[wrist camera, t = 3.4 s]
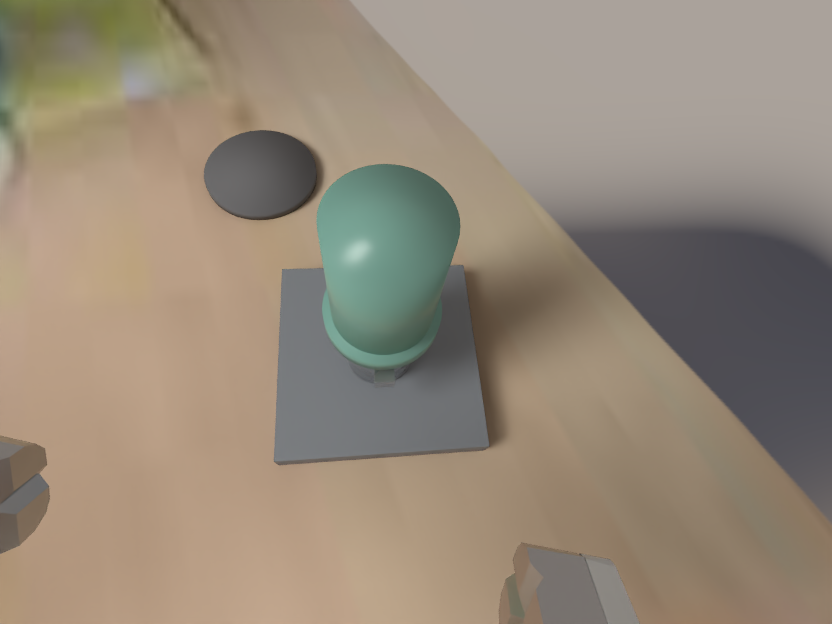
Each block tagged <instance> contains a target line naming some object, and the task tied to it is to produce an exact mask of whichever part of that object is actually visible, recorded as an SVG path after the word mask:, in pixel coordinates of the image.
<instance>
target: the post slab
mask: <svg viewBox="0 0 832 624" xmlns="http://www.w3.org/2000/svg"><path fill="white" fill-rule="evenodd" d="M326 288H327V286H326V280H325V274H324V268H317V269H282V285H281V308H280V332H279V355H278V379H277V402H276V426H275V449H274V462H275V463H276V464H278V465H287V464H301V463H314V462H328V461H342V460H356V459H370V458H383V457H397V456H411V455H425V454H439V453H452V452H466V451H480V450H485V449H486V448H488V447H489V440H488V433H487V426H486V419H485V412H484V405H483V398H482V391H481V384H480V377H479V370H478V363H477V356H476V350H475V343H474V336H473V329H472V322H471V315H470V308H469V301H468V294H467V287H466V280H465V273H464V266H463V265H452V266H450V268H449V271H448V274H447V277H446V280H445V283H444V286H443V289H442V293H441V296H440V297H441V303H442V318H441V322H440V326H439V329H438V332H437V334H436V337H435V339H434V341H433V343H432V344H431V346H430V347H429V349H428V350H427V351H426V352H425V353H424V354H423V355H422V356H421V357H419V358H418V359H417V360H415V361H414V362H412V363H410V365H409V367H408V369H407V370H406V372H405V373H404V374H403V375H402V376H401V377H399V378H398V379H396V380H395V384H394V387H386V388H375V387H374V384H373V383H369V382H366V381H364V380H362V379H360V378H359V377H358V376H356V374H355V373H354V372H353V371H352V370H351V368H350V366H349V364H348V361H347V359H346V358H345V357H344V356H342V355H341V354H340V353H339V352H338V351H337V350H336V349H335V347H334V346H333V345H332V343H331V341H330V339H329V338H328V335H327V332H326V329H325V325H324V320H323V314H322V303H323V297H324V293H325V291H326Z"/></svg>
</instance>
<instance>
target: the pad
mask: <svg viewBox="0 0 832 624" xmlns="http://www.w3.org/2000/svg"><path fill="white" fill-rule="evenodd" d="M316 178H317V174H316V166H315V161H314V159H313V156H312V154H311V153H310V151H309V150H308V149H307V148H306V146H305V145H303V144H302V143H301V142H300V141H298V140H297V139H295V138H293V137H291V136H289V135H286V134H284V133H280V132H275V131H266V130H260V131H250V132H245V133H242V134H239V135H236V136H234V137H231V138H229V139H228V140H226V141H224V142H223V143H222V144H220V145H219V146H218V147H217V148H216V149H215V150H214V151H213V152H212V154H211V155H210V157H209V158H208V160H207V163H206V165H205V170H204V179H205V184H206V187H207V189H208V191H209V193H210V195H211V197H212V199H213V200H214V201H215V203H216V204H217V205H218V206H219V207H221V208H222V209H223V210H225V211H227V212H228V213H230V214H232V215H235V216H237V217H241V218H245V219H251V220H266V219H273V218H277V217H281V216H283V215H286V214H288V213H290V212H292V211H294V210H296V209H297V208H299V207H300V206H301V205H302V204H303V203H305V202H306V200H307V199H308V198H309V197H310V195H311V194H312V192H313V190H314V187H315V184H316Z"/></svg>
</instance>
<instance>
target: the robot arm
mask: <svg viewBox="0 0 832 624" xmlns="http://www.w3.org/2000/svg"><path fill="white" fill-rule="evenodd" d="M46 466H47V459H46V452H45V448H43V447H41V446H39V445H37V444H35V443H30V442H26V441H22V440H17V439H13V438H9V437H4V436H0V554H1V553H3V552H6V551H8V550H10V549H12V548H15V547H17V546H19V545H21V544H22V543H23V542H24V541H25V540H26V539H27V538H28V537H29V536H30V535H31V534H32V533H33V532H34V531H35V530H36V528H37V527H38V525H39V523H40V522H41V520H42V518H43V517H44V515H45V514H46V511H47V507H48V504H49V500H50V493H49V486H48V484H47V483H46V482H45V480H44V479H43V478H42V477H41V475H40V474H39V473H40V472H41V471H42V470H43V469H44V468H45V467H46ZM513 564H514V570H515V573H514V574H513V575H511V576H510V577H508V578H507V579H506V580H505V583H504V586H503V590H502V593H501V599H500V606H499V624H640V623H639V620H638V618H637V616H636V613H635V611H634V609H633V606H632V604H631V602H630V599H629V597H628V594H627V592H626V590H625V587H624V585H623V583H622V580H621V578H620V576H619V573H618V571H617V568H616V566H615V564H614V563H613V562H612V561H611V560H610V559H606V558H601V557H596V556H590V555H585V554H577V553H573V552H568V551H563V550H558V549H552V548H547V547H542V546H537V545H532V544H527V543H521V544H520V545H519V546H518V548H517V550H516V552H515V555H514V558H513Z"/></svg>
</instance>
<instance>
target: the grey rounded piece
mask: <svg viewBox="0 0 832 624" xmlns="http://www.w3.org/2000/svg"><path fill="white" fill-rule="evenodd" d="M347 361H348V364H349V366H350V368H351V370H352V371H353V372H354V373H355V374H356V376H358V377H359V378H360V379H362V380H364V381H366V382H369V383H373V384H374V387H375V388H386V387H394V384H395V380H396V379H398V378H399V377H401V376H402V375H403V374H404V373H405V372H406V370H407V369H408V367H409V365H410V364H408V365H406V366H403V367H400V368H396V369H390V370H375V369H368V368H365V367H361V366H359V365H357V364H354V363H353V362H351V361H349V360H347Z"/></svg>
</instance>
